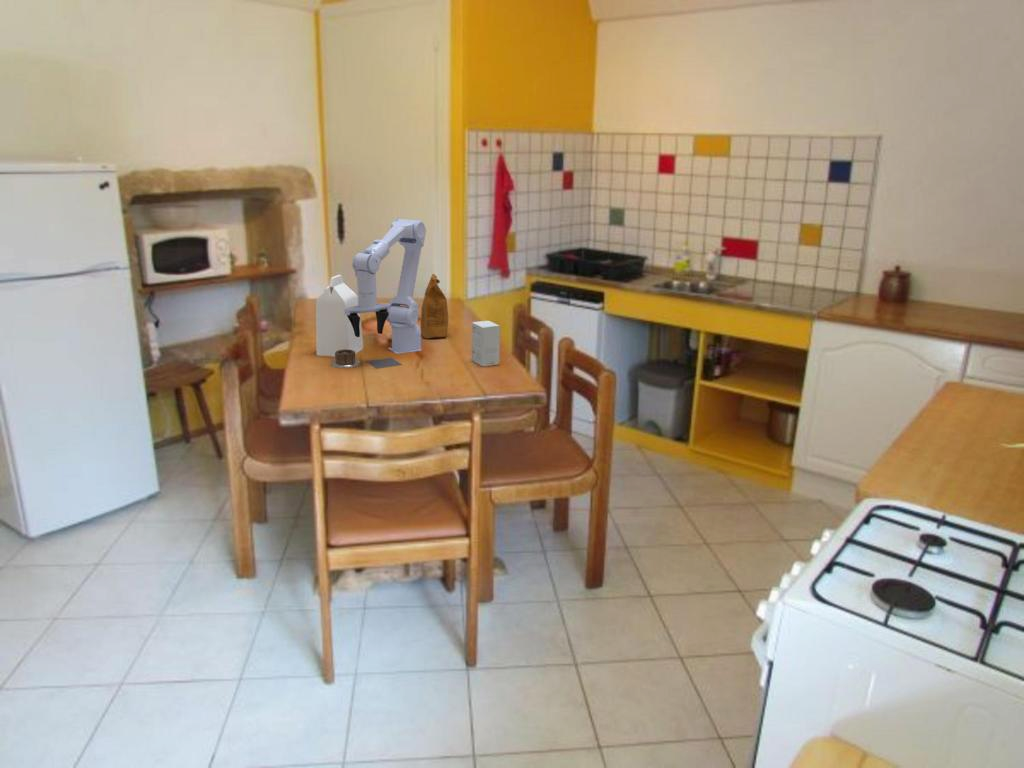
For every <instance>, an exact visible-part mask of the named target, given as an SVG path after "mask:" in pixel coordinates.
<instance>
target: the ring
mask: <svg viewBox="0 0 1024 768" xmlns="http://www.w3.org/2000/svg"><path fill="white" fill-rule="evenodd" d="M342 352H348V353H349V354H341V353H342ZM334 358H335V359H334V360H335V361H336V364H338V365H352V364H354V363H355V359H356V354H355V351H353V350H347V349H344V350H338V351H336V352H335V357H334Z"/></svg>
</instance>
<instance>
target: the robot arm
mask: <svg viewBox="0 0 1024 768" xmlns="http://www.w3.org/2000/svg"><path fill="white" fill-rule="evenodd" d="M426 233H427V229H426V226H425V223H424V221H423V220H421V219H418V220H416V219H404V218H403V219H402V218H398V217H396V218H395V219H394V220H393V222H391V224H390V229H389V230H388V232H386V234H384V236H383V237H382V238H381V239H374V240H373V241H372V243H371V244H370V245H369V246H368V247H367V248H366V249H365V250H364V251H363V252H358V253H356V254H355V255H354V256H353V259H352V264H351V267H352V269H353V271H354V276H355V278H356V282H357V284H356V286H357V288H356V289H357V296H358V306H353V307H349V308H344V310H345V315H347V317H348V318H349V320H350V322H351V324H352V327H353V330H354V333H355V336H356V337H360V329H359V324H360V318H361V316H360V317H359V316H358V315H357V314H359V313H360V314H365V313H375V316H376V331H377V334H378V335H383V332H384V326H385V323H386V321H387V322H388V323H389V326H391V347H388V348H387V349H388V350H389V351H391V352H393V353H395V354H397V355H398V354H404V353H405V354H406V353H412V352H418V351H419V352H420V351H423V349H422V333H421V326H420V325H418V324H417V322H418V320H419V304H418V302H416V301H415V299H414V298H413V297H414V291H415V286H416V282H417V281H416V280H417V275H418V270H419V265H420V264H419V263H420V260H421V259H420V258H421V253H422V248H423V247H424V244H425V238H426ZM396 243H399V244H400V245H401V246H403V249H404V255H403V259H402V260H403V261H402V266H401V271H400V276H399V281H398V287H397V288H398V289H397V293H396V295H395V296H394V297H392V298H391V299H390V300H389V303H387V302H386V303H378V301H377V300H378V299H377V298H378V297H377V275H376V273H377V272H378V271H379V270H380V269H379V268H380V266H381V263H382V261H383V260H384V259H385V258H386V257H387V256H388V255H389V253H390V248H391V247H393V246H394V245H395V244H396Z"/></svg>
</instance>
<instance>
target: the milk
mask: <svg viewBox="0 0 1024 768" xmlns="http://www.w3.org/2000/svg"><path fill="white" fill-rule="evenodd" d="M353 306H358V294H356V293H355V291H354V290H352V289H351V288H350V287H349V286H348V285H347V284H346V283H345V282H344V278H343V275H342V274H337V275H334V276H332V277H330V280H329V285H328V286H326V288H324V290H323V292H322V294H321V295H320V296H318V297H317V299H316V300H315V336H316V337H315V339H316V342H315V343H316V347H315V348H316V351H315V352H316V356H319V357H321V356H323V357H333V358H335V352H336V351H338V350H344V349H347V350H353V351H355V355H357V353H359V352H360V351H362V350H363V349H364V343H363V341H364V339H363V330H362V320H361V313H359V314H357V315H358V316H359V317H360V324H359V329H360V337H356V336H355V333H354V330H353V327H352V324H351V322H350V320H349V318H348V317H347V315H345V310H344V308H349V307H353Z"/></svg>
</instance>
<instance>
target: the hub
mask: <svg viewBox="0 0 1024 768" xmlns="http://www.w3.org/2000/svg"><path fill="white" fill-rule="evenodd" d="M341 354H349V353H348V352H342V353H341ZM360 364H361V361H360V360H359V359H356V358H355V363H354V364H352V365H338V364H336V361H335V359H334V360H332V361H331V362H330V365H331V366H332V367H333V368H338V369H351V368H355V367H357V366H360Z"/></svg>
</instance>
